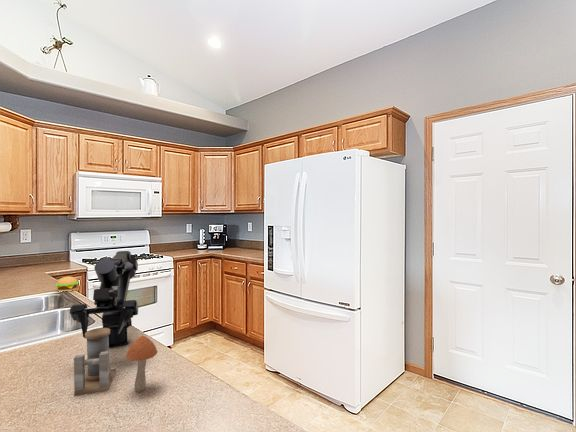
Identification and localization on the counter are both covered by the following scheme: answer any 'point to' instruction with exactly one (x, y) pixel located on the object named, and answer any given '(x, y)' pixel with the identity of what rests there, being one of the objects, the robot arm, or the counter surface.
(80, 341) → the counter surface
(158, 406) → the counter surface
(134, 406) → the counter surface
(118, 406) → the counter surface
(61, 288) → the hamburger
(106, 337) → the ball
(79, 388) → the grey h-shaped frame
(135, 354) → the mushroom
